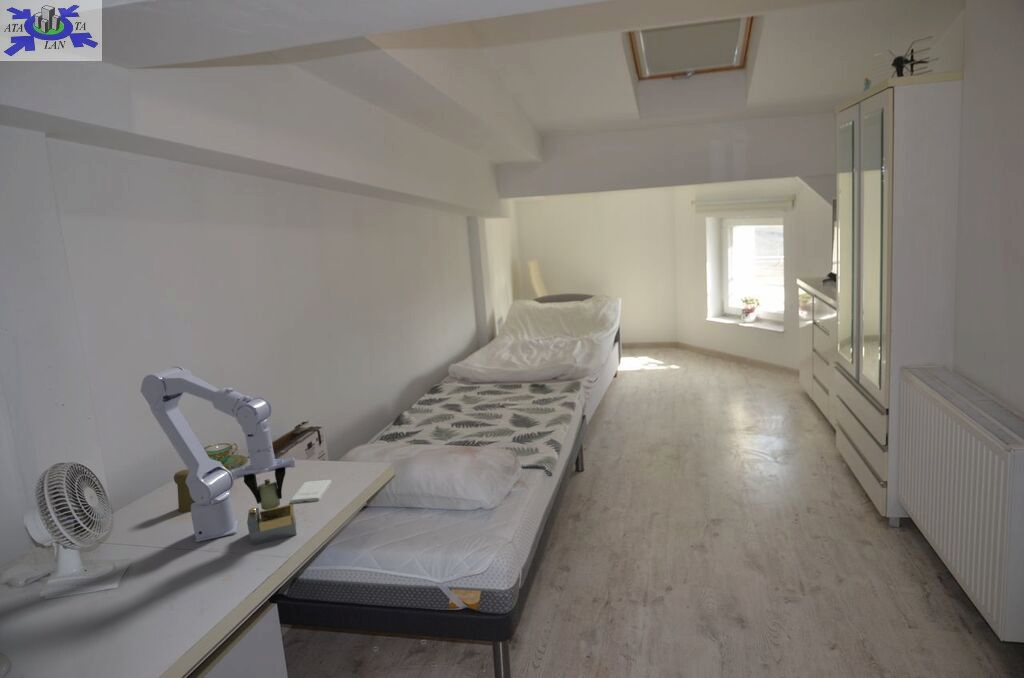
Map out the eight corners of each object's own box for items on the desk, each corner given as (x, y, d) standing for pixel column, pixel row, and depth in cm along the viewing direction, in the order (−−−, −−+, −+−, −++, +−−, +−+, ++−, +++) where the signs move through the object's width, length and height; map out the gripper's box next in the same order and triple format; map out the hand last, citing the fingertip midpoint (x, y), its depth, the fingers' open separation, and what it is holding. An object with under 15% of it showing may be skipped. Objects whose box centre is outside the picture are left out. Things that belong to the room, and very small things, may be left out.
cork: (206, 502, 189) (199, 466, 187) (194, 511, 183) (186, 474, 181) (186, 503, 189) (179, 467, 187) (174, 512, 183) (166, 476, 181)
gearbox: (251, 545, 159) (246, 519, 157) (253, 531, 166) (248, 506, 165) (296, 534, 162) (291, 509, 161) (295, 521, 169) (291, 497, 168)
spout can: (260, 511, 160) (256, 486, 159) (262, 504, 165) (258, 480, 164) (279, 507, 162) (275, 482, 161) (280, 500, 166) (276, 476, 165)
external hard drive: (332, 484, 194) (319, 502, 182) (305, 487, 194) (290, 505, 182) (331, 479, 194) (318, 497, 181) (304, 481, 194) (289, 499, 182)
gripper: (227, 459, 154) (237, 512, 157) (291, 446, 159) (300, 498, 161) (229, 450, 161) (239, 501, 163) (290, 438, 165) (299, 488, 168)
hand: (269, 499), depth 163 cm, fingers closed on spout can, 4 cm apart
